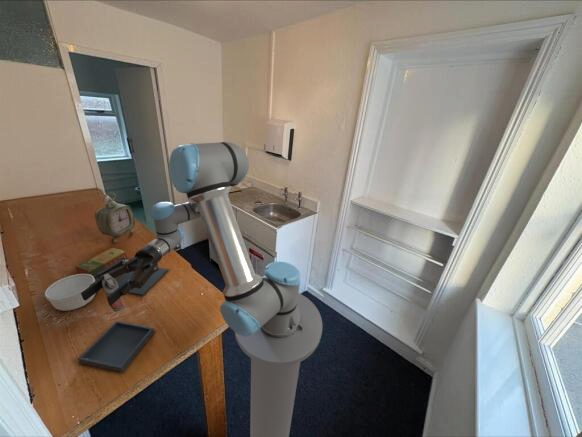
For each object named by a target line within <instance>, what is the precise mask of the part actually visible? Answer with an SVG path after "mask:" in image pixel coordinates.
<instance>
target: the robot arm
mask: <svg viewBox="0 0 582 437" xmlns="http://www.w3.org/2000/svg"><path fill="white" fill-rule="evenodd" d="M168 167H169V168H168V170H169V177H170V181H171V183H172V185H173V187H174V188H175V190H176V191H177V192H178V193H180V194H186V197H187V199H188V201H187V202H184V203H180V204H179V203H178V204H176V205H174V203H173V202H170V201H160V202H157V203H155V204H154V205H153V206H152V209H151V210H152V219H153V222H154V228H155V233H156V237H155V238H154V239H152V240H151V241H149V242H148V243H146V244H145V245H144V246H143V247H141V248H140V249H139V250H137V251H136V252H135V255H134V256H133V257H131V258H129V259H127V258H126V259H124V257H122V258H120V259H119V260H118V261H117V262H115V263H114V264H112V265H110V266H109V267H107V268H105V269H104V270H102V271H100V272H99V273H97V274H96V277H95V278H96V279H95V282H94V283H92V284H91V285H90V286H89V287H88V288H87V289H85V290H84V291H83V292H81V295H82V298H83V300H85V301H86V300H87V299H89V298H90V297H91V296H93V295H94V294H95V293H96V294H97V293H98V292H99V291H100V290H102V289H104V288H103V285H102V280H103V279H104V275H105V274H109V275H110V276H111V277H113V278H114V279H117V278H119V277H120V276H121V275H123V274H125V273H129V272H131V271H135V272H134V274H133V275H132V277H131V279H130V280H128V282H129V284H128V282H125V283H123V284H122V285H121V286H120V287H119V288H117V289H116V290H115V291H114V292H113V293H112V294H110V295H109V296H108V297H107V296H106V300H107V304H108V305H109V306H110V305H113V304H114V303H115V302H116V301H117V300H118V299H119V298H120V297H123V296H126V295H128V294H129V293H128V292H129V291H130V290H131V289H134V288H136V287H137V288H138V289H140V288H142V286H143V285H144V284H145V283H146V282H147V281H148V279H149V278H150V277H151V276H152V275H153V274H154V273H155V272H156V271H158V270H159V268H160V267H159V264H158V263H159V262H160V261H161V260H163V259H164V258H165V257H166V256H167V255H168V254H169V253H171V252H172V251H173V250H174V249H175V248H176V247H178V246H179V245H180V244H181V243H182V241H183V240H184V237H185V234H184V232H183V231H182V229H181V228H180V227H178V225H181V224H184V223H187V222H189V221H193V220H197V219H199V218H201V220H202V223H203V226H204V229H205V232H206V234H207V236H208V240H209V242H210V245H211V248H212V250H213V253H214V256H215V259H216V262H217V264H218V267H219V270H220V272H221V276H222V278H223V280H224V284H225V287H224V289H223V290H222V294H223V297H224V300H225V301H223V302H222V303H221V304H220V308H219V309H220V310H219V311H220V315H221V316H222V318H223V320H224V322H225V323H226V325H227V326H228V328H230V329H231V330H232V331H233V332H234V333H235V332H236V333H237V334H239V335H240V336H243V337H249V336H251V335H252V334H254V333H255V332H256V331H257V330H260V329H261V330H262V331H263V332H264V333H265V334H267V335H269V336H271V337H275V338H284V337H288V336H290V335H292V334H293V333H295V332H296V330H297V329H298V327H299V328H300V329H301V330H302V329H303V328H302V327H301V326H300V325H299V324H300V313H299V309H298V306H297V300H298V293H299V294H300V292H299V291H300V284H301V272H300V270H299V269H298V268H297V267H296V266H295V265H293V264H292V263H290V262H285V261H273V262H270V263H268V264H267V265H266V266H265V268H264V275H263V276H261V275H260V274H258V273H256V272H255V269H254V267H253V263H252V261H251V258H250V255H249V251H248V249H247V247H246V243H245V241H244V238H243V234H242V232H241V229H240V226H239V224H238V220H237V218H236V215H235V212H234V209H233V206H232V203H231V199H230V197H229V193H230V191H231V190H232V187H236V186H237V185H239V184H240V183H241V182H242V181H244V179H245V178H246V176H247V175H248V172H249V169H250V161H249V158H248V155H247V153H246V152H245V150H244V149H242V147H240V146H239V145H237V144H235V143H233V142H229V141H220V142H203V143H201V142H200V143H199V142H198V143H194V142H192V143H189V144H181V145H178V146H176V147H174V148H173V150H172V151H171V153H170V156H169V162H168ZM146 269H147V270H146ZM145 270H146V271H145ZM144 271H145V272H144ZM96 294H95V295H96Z"/></svg>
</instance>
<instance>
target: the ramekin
mask: <svg viewBox="0 0 582 437" xmlns="http://www.w3.org/2000/svg"><path fill="white" fill-rule="evenodd" d="M95 281H96V279H95V278H94V277H93V276H92V275H90V274H77V273H76V274H72V275H69V276H66V277H63V278H60V279H58V280H57V281H55V282H53V283H52V284H50V285H49V286H48V287H47V288H46V290H45V291H44V296H45V298H46V300H47V301H49V302H50V304H51V305H52V306H53V307H54V309H56V310H58V311H64V312H65V311H73V310H77V309H79V308H82V307H84V306H86V305H87V304H89V303H90V302H91V301H92V300H93V299H94V298H95V297H96V294H97V292H96V293H95V294H94V295H93V296H91V297H90V298H89V299H87V300H86V301H85V300H83V298H82V295H81V292H83V291H84V290H85V289H87V288H88V287H89V286H90V285H91V284H92V283H94V282H95Z"/></svg>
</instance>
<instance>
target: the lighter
mask: <svg viewBox="0 0 582 437" xmlns="http://www.w3.org/2000/svg"><path fill="white" fill-rule="evenodd" d="M102 285H103V288H102V289H103V291H104V294H105V296H106V298H107V297H108V296H109V295H110V294H112V293H113V292H114V291H115V290H116V289H117V288H119V286H118V283H117V281H116V278H113V277H111V276H110V275H109V274H105V275H104V279H103V280H102ZM109 308H111V310H112V311H113V312H115V313H117V312H121V311H122V310H124V309H125V301H124V300H123V296H121V297H120V298H119V299H118V300H117V301H116V302H115V303H114V304H113V305H109Z"/></svg>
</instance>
